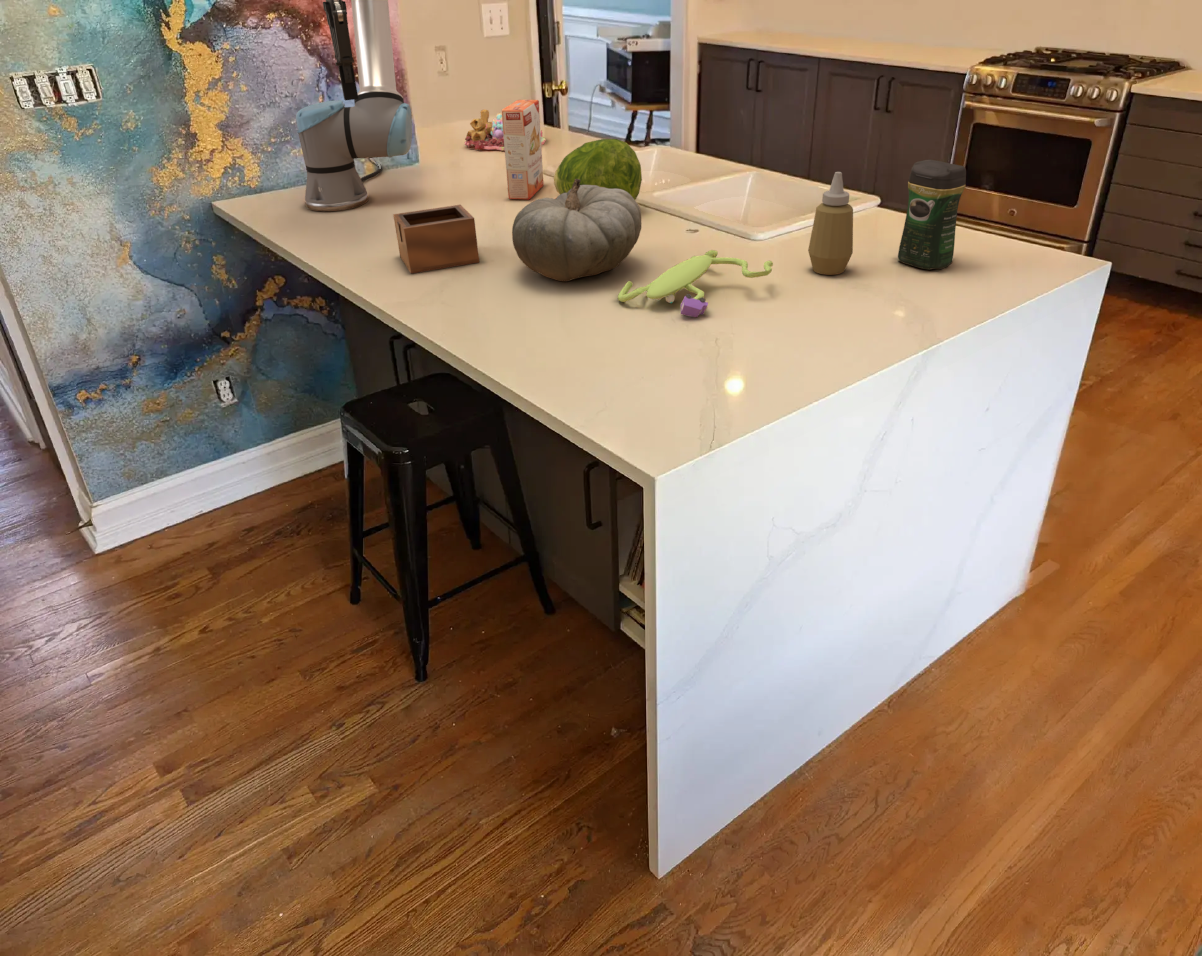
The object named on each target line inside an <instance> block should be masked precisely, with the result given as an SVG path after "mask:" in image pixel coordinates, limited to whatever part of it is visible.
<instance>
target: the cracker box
mask: <svg viewBox="0 0 1202 956" xmlns="http://www.w3.org/2000/svg"><path fill="white" fill-rule="evenodd" d="M501 113H502V124H503V136H504V148H505V150H504V159H505V170H506V171H505V172H506V182H507V196H508V200H526V201H527V200H531V199H532V198H533V197H534V195H536V194H537V193H538V192H539V191H540V190H541V188H543V187H544V182H545V181H544V168H543V152H542V150H543V149H542V145H541V115H540V114H541V113H540V101H539V99H517V100H515V101H514V102H511V104H509V105H507V106H505V107H504V108H503V109H501Z"/></svg>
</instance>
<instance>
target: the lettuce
mask: <svg viewBox="0 0 1202 956" xmlns="http://www.w3.org/2000/svg"><path fill="white" fill-rule="evenodd" d="M641 165H642V164H641V163H640V160H639V158H638V155H637V152H636V151H635V150H634V148H632V147H631V146H630V145H629V144H628V143H627V142H626V141H623V140H621V139H619V138H601V139H596V140H592V141H587V142H584V143H583V144H582V145H580V146H578V147H577V148H575V149H573V150H572V151H571V152H569V153H568V154H567V155H565V156H564V157H563V159H562V161H561V162H560V163H559V165H558V166H557V168H556V169H555V171H554V175H553V185H554V188H555V190H556V192H557V193H558V194H559V195H560V194H562V193H567V192H568V191H569V190H570V189H572V186H573V183H574V181H575V179H580V185H596V186H599V187H605V188H608V189H621V190H624V191H626V192H628V193H629V194H630V195H631V196H632V197H633V199H634V200H635V201H636V200H637V198H638V196H639V195H640V191H641V187H642V186H641V185H642V180H643V179H642V178H643V177H642V176H643V175H642V166H641Z"/></svg>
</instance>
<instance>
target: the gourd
mask: <svg viewBox="0 0 1202 956" xmlns="http://www.w3.org/2000/svg"><path fill="white" fill-rule="evenodd" d="M641 231H642V210H641V207H640V205H639V203H638V202H637V201H636V200H634V199H633V197H632V196H631V195H630V194H629V193H628V192H626V191H624V190H621V189H608V188H605V187H599V186H596V185H580V179H575V181H574V183H573V186H572V189H570V190H569V191H568V192H567V193H562V194H559V195H558V196H556V198H553V197H543V198H537V199H536V200H533V201H531V202H530V203H528V204H526V205H525V206H524V207H522V209H520V211H519V212H517V214H516V215H515V218H514V219H513V223H512V228H511V234H512V235H511V239H512V240H511V241H512V246H513V248H514V250H515V252H516V254H517V256H518V258H519V260H520V261H521V262H522V263H523V265H525V266H526V267H527V268H528V269H529V270H531V271H533V272H534V273H538V274H540V275H542V276H544V277H545V278H549V279H551V280H554V281H559V282H569V281H572V280H576V279H579V278H584V277H591V276H593V277H594V276H597V275H599V274H601V273H605V272H609V271H611V270H614V269H616V268H617V267H619V266H620V265H621V264H622V262H623V261H624V260H626V259H627V258H628V256H629V255H630V253H631V251H632V250H633V249H634V247H635V245H636V244H637V243H638V241H639V238H640V234H641Z"/></svg>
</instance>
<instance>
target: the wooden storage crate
mask: <svg viewBox="0 0 1202 956" xmlns="http://www.w3.org/2000/svg"><path fill="white" fill-rule="evenodd" d="M392 216H393V222H394V229H395V233H396V239H397V245H398V251H399V257H400V259H401V261H402V262H403V264H404V265H405V267H406V269H407V270H408V272H409V273H410V274H412V275H413V274H417V273H423V272H430V271H436V270H441V269H448V268H453V267H458V266H459V267H460V266H466V265H471V264H478V263H480V256H479V255H480V254H479V246H478V240H477V239H478V238H477V229H476V221H475V220H476V219H475V217H474V216H473V215H472V214H471V213H470V212H469V211H468V210H467V209H466V208H465V207H464V206H463V205H461V204H453V205H447V206H442V207H433V208H428V209H427V208H426V209H421V210H413V211H412V210H411V211H407V212H399V213H393V214H392Z"/></svg>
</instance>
